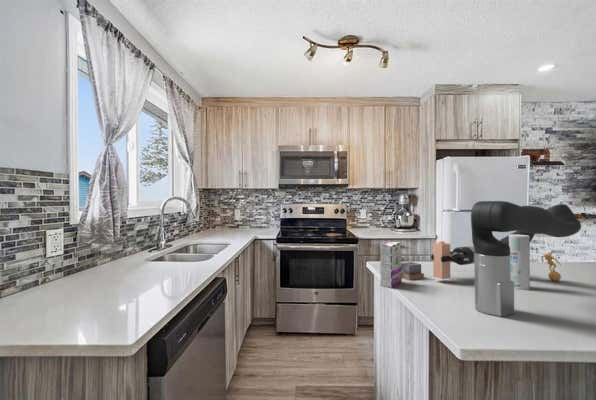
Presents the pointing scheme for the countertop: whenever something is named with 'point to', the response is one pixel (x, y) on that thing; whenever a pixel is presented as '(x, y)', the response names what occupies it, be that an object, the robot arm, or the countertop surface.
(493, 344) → the countertop surface
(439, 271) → the terracotta brick
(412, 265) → the tower stand
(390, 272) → the candy bar box
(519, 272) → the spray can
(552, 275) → the figurine
